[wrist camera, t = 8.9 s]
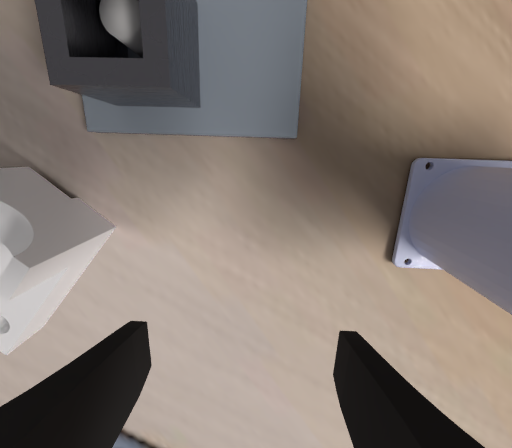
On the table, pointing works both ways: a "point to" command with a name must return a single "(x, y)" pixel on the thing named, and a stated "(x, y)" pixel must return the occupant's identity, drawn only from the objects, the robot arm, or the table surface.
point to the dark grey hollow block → (123, 53)
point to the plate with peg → (220, 72)
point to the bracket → (40, 250)
